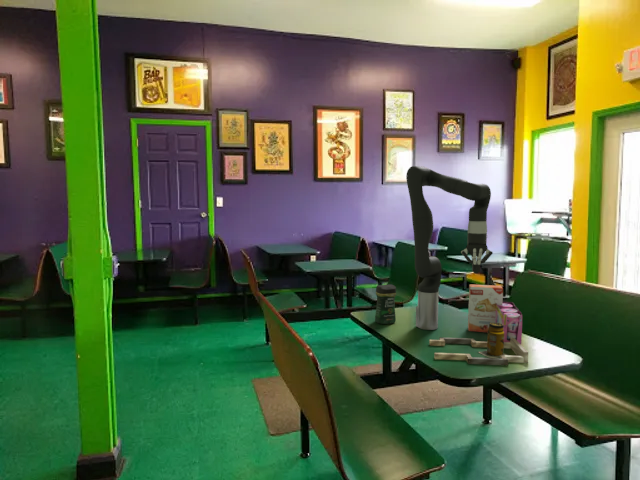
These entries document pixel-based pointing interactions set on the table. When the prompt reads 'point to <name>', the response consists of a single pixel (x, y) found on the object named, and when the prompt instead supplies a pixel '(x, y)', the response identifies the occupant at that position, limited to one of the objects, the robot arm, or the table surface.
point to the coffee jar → (385, 304)
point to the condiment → (495, 341)
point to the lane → (503, 360)
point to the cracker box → (483, 306)
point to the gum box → (509, 321)
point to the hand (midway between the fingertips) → (475, 273)
